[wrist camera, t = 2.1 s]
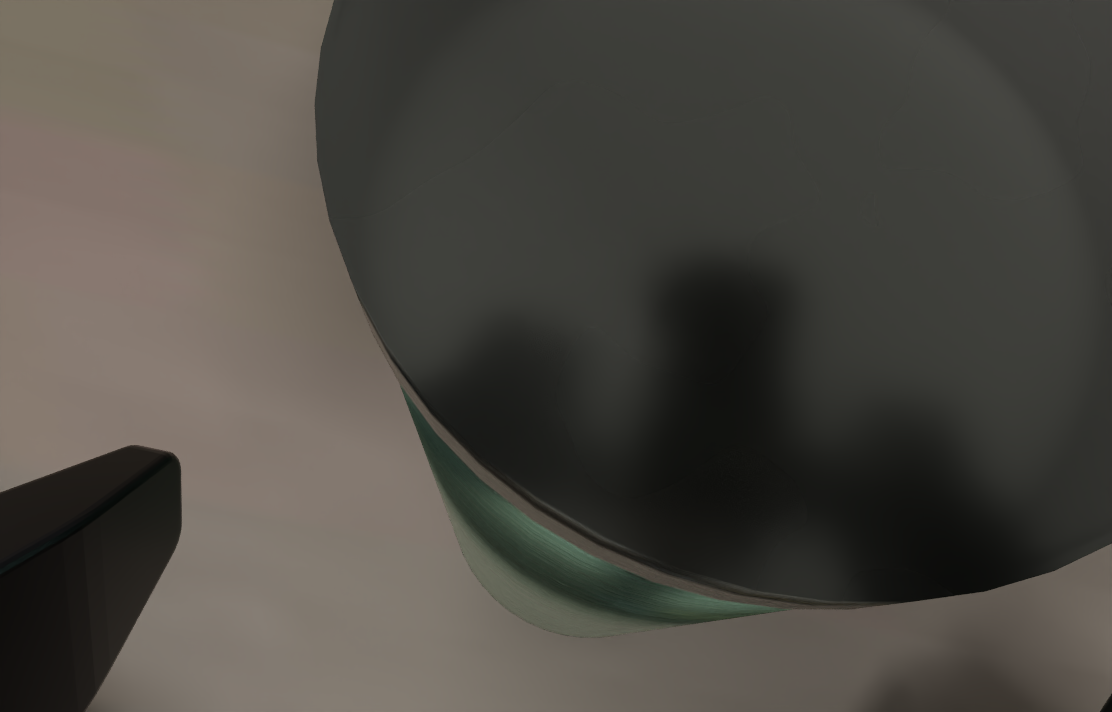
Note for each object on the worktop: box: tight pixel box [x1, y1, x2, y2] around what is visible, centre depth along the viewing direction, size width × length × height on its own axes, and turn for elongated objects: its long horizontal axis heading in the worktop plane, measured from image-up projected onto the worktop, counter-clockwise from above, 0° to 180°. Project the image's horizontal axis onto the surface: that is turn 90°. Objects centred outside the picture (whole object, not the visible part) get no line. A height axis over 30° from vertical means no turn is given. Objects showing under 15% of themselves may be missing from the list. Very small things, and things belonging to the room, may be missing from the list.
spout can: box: [315, 0, 1112, 637], centre depth 12 cm, size 10×6×14 cm, turn 169°
